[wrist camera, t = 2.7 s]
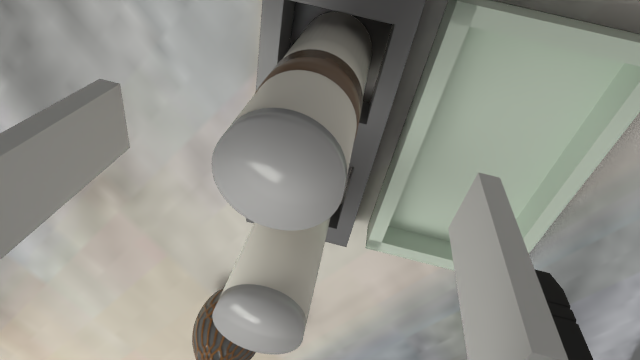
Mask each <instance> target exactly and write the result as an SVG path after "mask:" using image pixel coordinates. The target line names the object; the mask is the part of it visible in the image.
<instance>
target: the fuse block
mask: <svg viewBox="0 0 640 360" xmlns="http://www.w3.org/2000/svg"><path fill="white" fill-rule="evenodd" d="M295 2H300V3H304V4H308V5H313V6H317V7H321V8H325V9H330V10H334V11H338V12H342V13H347V14H351V15H355V16H360V17H364V18H368V19H372V20H377V21H381V22H385V23H390V24H392V27H391V30H390V34H389V38H388V41H387V45H386V48H385V52H384V55H383V59H382V62H381V66H380V69H379V73H378V77H377V80H376V84H375V87H374V91H373V94H372V98H371V101H370V103H366V102H363V105H362V110H361V115H360V120H359V125H358V130H357V135H356V138H355V141H354V144H353V149H352V154H351V159H350V164H349V166H352V169H351V172H350V176H349V179H348V183H347V186H346V190H345V193H344V197H343V201H342V203H340V205H339V207H338V209H337V210H336V211H335V213H334V214H333V215H332V216H331V218H330V222H329V226H328V231H327V235H326V239H325V242H329V243H333V244H337V245H340V246H344V247H346V246H347V243H348V240H349V237H350V234H351V231H352V228H353V225H354V222H355V218H356V215H357V212H358V209H359V206H360V203H361V200H362V197H363V194H364V191H365V188H366V184H367V181H368V178H369V175H370V172H371V169H372V166H373V163H374V160H375V157H376V154H377V150H378V147H379V144H380V141H381V138H382V135H383V132H384V129H385V126H386V123H387V120H388V116H389V113H390V110H391V107H392V104H393V101H394V98H395V95H396V92H397V89H398V86H399V82H400V79H401V76H402V73H403V70H404V67H405V64H406V61H407V58H408V55H409V52H410V48H411V45H412V42H413V39H414V36H415V33H416V30H417V27H418V24H419V21H420V18H421V14H422V11H423V8H424V5H425V2H426V0H263V1H262V15H261V28H260V42H259V55H258V69H257V82H256V91H257V89H258V88H259V86H260V85H261V84H262V82H263V81H264V80H265V79H266V77H267V76H268V75H269V73H270V72H271V71H272V70H273V68H274V67H275V66H276V65H277V64H278V63H279V61H280V60H282V59H283V57H284V56H285V55H286V54H287V52H288V51H289V49H290V41H291V33H292V25H293V17H294V8H295ZM246 221H247V222H250V223H255V222H253V221H251V220H249V219H247V218H246Z"/></svg>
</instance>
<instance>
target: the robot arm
mask: <svg viewBox="0 0 640 360" xmlns="http://www.w3.org/2000/svg"><path fill="white" fill-rule="evenodd" d="M129 148H130V145H129V138H128V132H127V126H126V119H125V113H124V106H123V100H122V93H121V87H120V84H119V83H115V82H111V81H107V80H103V79H99V80H97V81H95V82H93V83H91V84H89V85H88V86H86V87H84V88H82V89H80V90H79V91H77V92H75V93H73V94H71V95H69V96H68V97H66V98H64V99H62V100H60V101H59V102H57V103H55V104H53V105H51V106H49V107H48V108H46V109H44V110H42V111H40V112H39V113H37V114H35V115H33V116H31V117H29V118H28V119H26V120H24V121H22V122H20V123H18V124H17V125H15V126H13V127H11V128H9V129H8V130H6V131H4V132H2V133H0V259H2V258H3V257H4V256H5V255H6V254H7V253H9V252H10V251H11V250H12V249H13V248H14V247H15V246H17V245H18V244H19V243H20V242H21V241H22V240H24V239H25V238H26V237H27V236H28V235H29V234H31V233H32V232H33V231H34V230H35V229H36V228H37V227H39V226H40V225H41V224H42V223H43V222H44V221H46V220H47V219H48V218H49V217H50V216H51V215H52V214H54V213H55V212H56V211H57V210H58V209H59V208H61V207H62V206H63V205H64V204H65V203H66V202H68V201H69V200H70V199H71V198H72V197H73V196H74V195H76V194H77V193H78V192H79V191H80V190H81V189H83V188H84V187H85V186H86V185H87V184H88V183H90V182H91V181H92V180H93V179H94V178H95V177H96V176H98V175H99V174H100V173H101V172H102V171H103V170H105V169H106V168H107V167H108V166H109V165H110V164H112V163H113V162H114V161H115V160H116V159H117V158H118V157H120V156H121V155H122V154H123V153H124V152H125V151H127V150H128V149H129ZM448 230H449V237H450V243H451V250H452V257H453V263H454V270H455V277H456V283H457V290H458V297H459V303H460V310H461V317H462V323H463V330H464V337H465V343H466V350H467V357H468V360H593V358H592V356H591V353H590V351H589V349H588V346H587V344H586V342H585V339H584V337H583V335H582V332H581V330H580V328H579V325H578V324H576V318H575V316H574V314H573V312H572V310H570V305H569V302H568V300H567V298H566V295H565V293H564V291H563V289H562V288H561V287H560V285H559V284H558V283H557V282H556V280H555V279H554V278H553V277H552V276H551V274H550V273H546V272H542V271H539V270H535V269H534V267H533V264H532V261H531V259H530V256H529V253H528V251H527V248H526V245H525V243H524V240H523V237H522V235H521V232H520V229H519V227H518V224H517V221H516V219H515V216H514V213H513V211H512V208H511V205H510V203H509V200H508V197H507V195H506V192H505V189H504V187H503V184H502V181H501V179H500V178H499V177H495V176H491V175H487V174H483V173H479V172H478V174H477V176H476V178H475V180H474V181H473V183H472V185H471V187H470V189H469V191H468V192H467V194H466V196H465V198H464V200H463V202H462V204H461V205H460V207H459V209H458V211H457V213H456V215H455V217H454V218H453V220H452V222H451V224H450V226H449V228H448Z"/></svg>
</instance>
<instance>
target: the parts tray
mask: <svg viewBox="0 0 640 360" xmlns="http://www.w3.org/2000/svg"><path fill="white" fill-rule="evenodd" d="M639 112H640V34H636V33H632V32H627V31H623V30H619V29H614V28H610V27H606V26H601V25H597V24H593V23H588V22H584V21H579V20H575V19H571V18H566V17H562V16H558V15H553V14H549V13H545V12H540V11H536V10H532V9H527V8H523V7H518V6H514V5H510V4H505V3H501V2H497V1H492V0H448V3H447V6H446V9H445V12H444V14H443V17H442V20H441V23H440V25H439V28H438V31H437V34H436V37H435V39H434V42H433V45H432V48H431V51H430V53H429V56H428V59H427V62H426V65H425V67H424V70H423V73H422V76H421V79H420V81H419V84H418V87H417V90H416V93H415V95H414V98H413V101H412V104H411V107H410V109H409V112H408V115H407V118H406V121H405V123H404V126H403V129H402V132H401V134H400V137H399V140H398V143H397V146H396V148H395V151H394V154H393V157H392V160H391V162H390V165H389V168H388V171H387V174H386V176H385V179H384V182H383V185H382V188H381V190H380V193H379V196H378V199H377V202H376V204H375V207H374V210H373V213H372V216H371V218H370V221H369V224H368V230H367V240H366V248H367V249H371V250H375V251H379V252H383V253H387V254H391V255H395V256H399V257H403V258H407V259H410V260H414V261H418V262H422V263H426V264H430V265H434V266H438V267H442V268H446V269H450V270H454V263H453V257H452V250H451V243H450V237H449V230H448V228H449V226H450V224H451V222H452V220H453V218H454V217H455V215H456V213H457V211H458V209H459V207H460V205H461V204H462V202H463V200H464V198H465V196H466V194H467V192H468V191H469V189H470V187H471V185H472V183H473V181H474V180H475V178H476V176H477V174H478V172H479V173H483V174H487V175H491V176H495V177H499V178H500V179H501V181H502V184H503V187H504V189H505V192H506V195H507V197H508V200H509V203H510V205H511V208H512V211H513V213H514V216H515V219H516V221H517V224H518V227H519V229H520V232H521V235H522V237H523V240H524V243H525V245H526V248H527V251H528V253H530V251H531V250H532V249H533V248H534V246H535V245H536V244H537V242H538V241H539V240H540V239H541V237H542V236H543V235H544V234H545V232H546V231H547V230H548V228H549V227H550V226H551V225H552V223H553V222H554V221H555V219H556V218H557V217H558V216H559V214H560V213H561V212H562V211H563V209H564V208H565V207H566V205H567V204H568V203H569V202H570V200H571V199H572V198H573V197H574V195H575V194H576V193H577V191H578V190H579V189H580V188H581V186H582V185H583V184H584V182H585V181H586V180H587V179H588V177H589V176H590V175H591V174H592V172H593V171H594V170H595V168H596V167H597V166H598V165H599V163H600V162H601V161H602V160H603V158H604V157H605V156H606V154H607V153H608V152H609V151H610V149H611V148H612V147H613V145H614V144H615V143H616V142H617V140H618V139H619V138H620V137H621V135H622V134H623V133H624V131H625V130H626V129H627V128H628V126H629V125H630V124H631V122H632V121H633V120H634V119H635V117H636V116H637V115H638V114H639ZM454 271H455V270H454Z"/></svg>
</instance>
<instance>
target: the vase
mask: <svg viewBox="0 0 640 360" xmlns="http://www.w3.org/2000/svg"><path fill="white" fill-rule="evenodd" d="M222 291H223V289H221V290H219V291H217V292H216V293H215V294H213V295H212V296H211V297H210V298H209V299H208V300H207V301H206V303H205V304H204V305H203V307H202V308H201V310H200V312H199V314H198V316H197V318H196V321H195V324H194V328H193V335H192V343H193V349H194V353H195V357H196V360H250V359H251V358H252V357H253V356H254V354H255V353H256V352H254V351H250V350H247V349H245V348H242V347H240V346H238V345H236V344H234V343H233V342H231V341H229V340H228V339H227V338H225V337H224V336H223V335H222V334H221V333H220V332H219V331H218V330H217V328H216V327H215V325H214V322H213V318H212V315H213V311H214V309H215V307H216V304H217V302H218V300H219V298H220V296H221V294H222Z"/></svg>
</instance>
